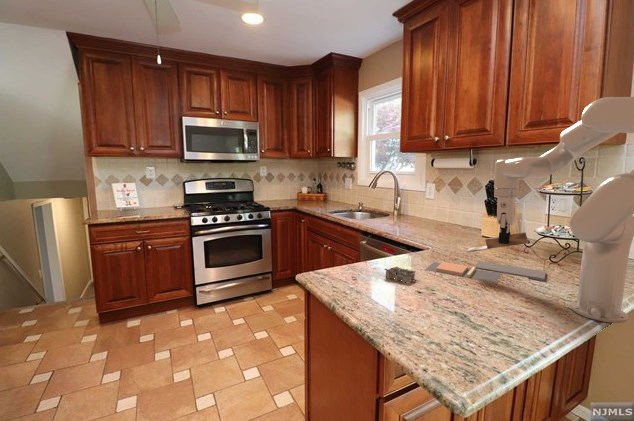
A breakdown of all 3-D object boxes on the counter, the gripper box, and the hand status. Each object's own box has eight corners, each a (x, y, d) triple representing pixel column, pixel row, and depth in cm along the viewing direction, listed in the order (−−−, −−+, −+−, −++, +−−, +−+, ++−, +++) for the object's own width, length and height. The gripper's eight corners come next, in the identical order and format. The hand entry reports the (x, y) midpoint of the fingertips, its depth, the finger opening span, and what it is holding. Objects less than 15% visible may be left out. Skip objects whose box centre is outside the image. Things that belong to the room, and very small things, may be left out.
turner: (528, 241, 112) (525, 231, 113) (527, 244, 108) (524, 234, 108) (470, 249, 124) (468, 240, 125) (467, 252, 120) (464, 243, 120)
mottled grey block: (382, 278, 121) (383, 268, 121) (393, 273, 126) (393, 263, 126) (407, 285, 114) (407, 274, 113) (417, 279, 119) (417, 269, 118)
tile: (462, 272, 120) (436, 267, 126) (462, 275, 121) (435, 270, 127) (467, 266, 128) (442, 261, 134) (467, 268, 128) (442, 264, 134)
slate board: (544, 281, 115) (544, 278, 115) (474, 269, 130) (474, 266, 130) (545, 273, 123) (545, 271, 123) (478, 263, 138) (478, 260, 137)
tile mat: (495, 284, 112) (496, 280, 112) (424, 270, 128) (424, 266, 128) (500, 274, 123) (501, 270, 122) (434, 263, 138) (434, 259, 138)
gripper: (516, 194, 104) (514, 248, 106) (520, 192, 117) (518, 239, 119) (490, 194, 108) (489, 245, 110) (497, 192, 121) (495, 238, 123)
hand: (504, 242), depth 114 cm, fingers closed on turner, 2 cm apart
